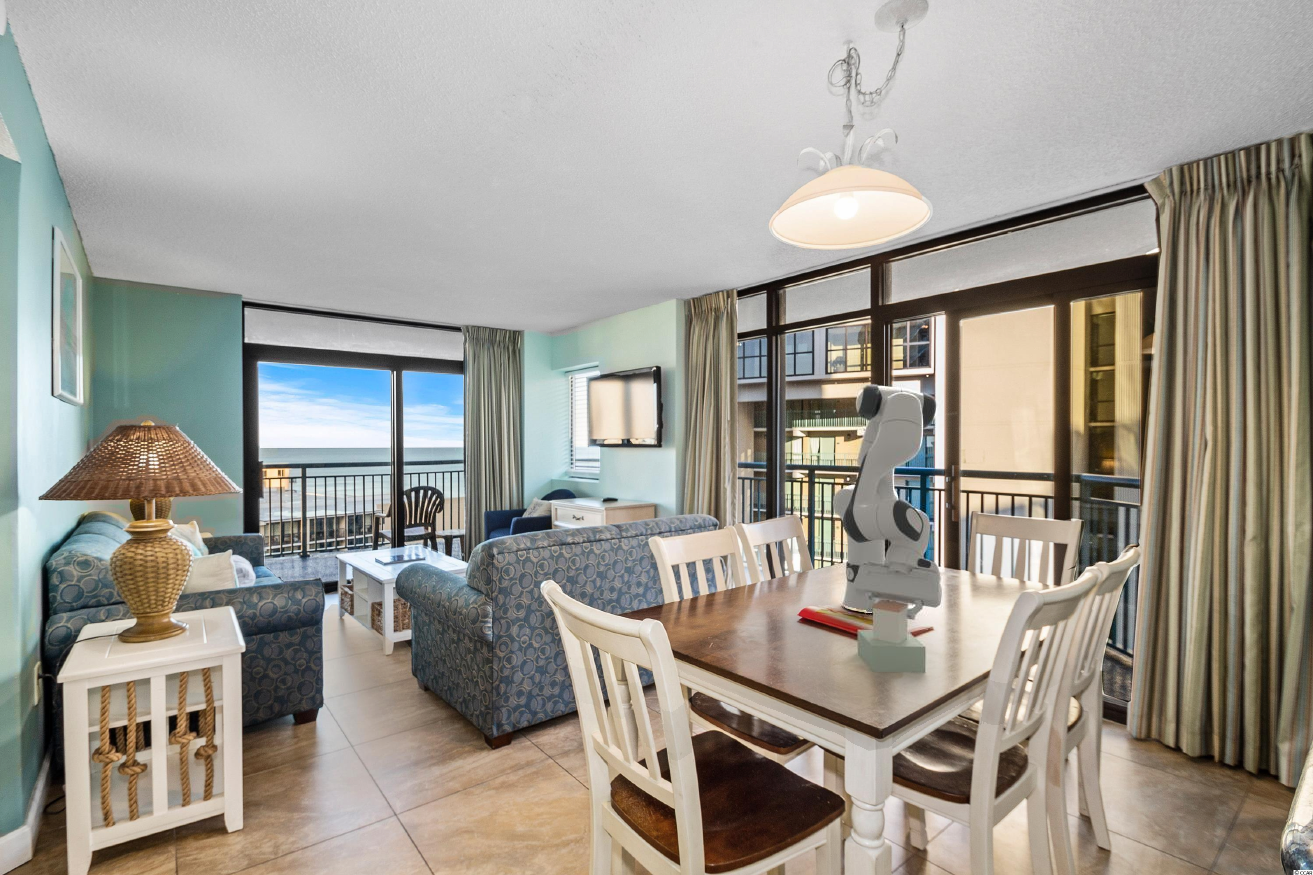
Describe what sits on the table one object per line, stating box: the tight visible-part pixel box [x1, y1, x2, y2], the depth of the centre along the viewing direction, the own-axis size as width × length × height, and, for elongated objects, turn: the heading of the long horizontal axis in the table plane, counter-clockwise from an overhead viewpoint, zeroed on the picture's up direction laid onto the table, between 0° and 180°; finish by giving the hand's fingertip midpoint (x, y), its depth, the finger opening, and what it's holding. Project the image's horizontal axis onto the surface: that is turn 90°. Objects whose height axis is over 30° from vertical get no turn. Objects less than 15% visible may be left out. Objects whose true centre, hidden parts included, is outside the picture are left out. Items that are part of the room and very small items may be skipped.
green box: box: [857, 629, 927, 673], centre depth 148 cm, size 12×12×6 cm
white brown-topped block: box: [872, 600, 908, 644], centre depth 148 cm, size 6×6×8 cm
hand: (889, 614), depth 147 cm, fingers open, 8 cm apart
